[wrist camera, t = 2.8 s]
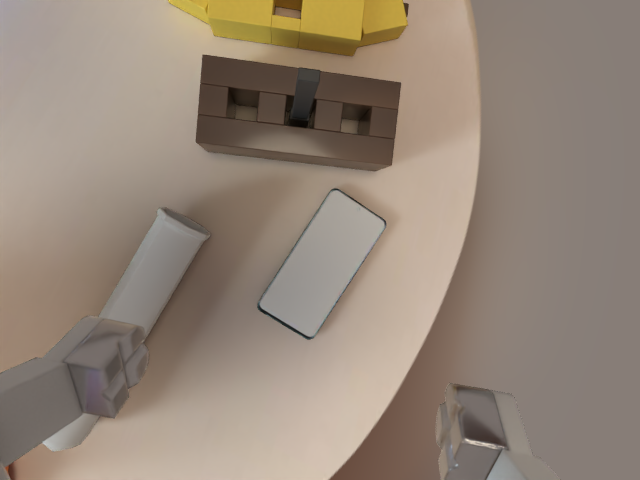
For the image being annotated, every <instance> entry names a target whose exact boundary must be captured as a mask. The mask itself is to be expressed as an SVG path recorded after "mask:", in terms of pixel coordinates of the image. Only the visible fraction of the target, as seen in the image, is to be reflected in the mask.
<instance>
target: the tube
mask: <svg viewBox="0 0 640 480" xmlns="http://www.w3.org/2000/svg"><path fill="white" fill-rule="evenodd" d="M157 214H158V216H157V218H156V220H155V221H154V223H153V225H152V226H151V228H150V230H149V231H148V233H147V235H146V236H145V238H144V240H143V242H142V243H141V245H140V247H139V248H138V250H137V252H136V253H135V255H134V257H133V258H132V260H131V262H130V264H129V265H128V267H127V269H126V270H125V272H124V274H123V275H122V277H121V279H120V280H119V282H118V284H117V286H116V287H115V289H114V291H113V292H112V294H111V296H110V297H109V299H108V301H107V303H106V304H105V306H104V308H103V309H102V311H101V313H100V314H99V316H98V317H100V318H105V319H111V320H116V321H120V322H125V323H130V324H134V325H139V326H142V327H144V330H145V334H146V337H145V339H146V338H147V336H148V334H149V333H150V331H151V329H152V328H153V326H154V324H155V322H156V321H157V319H158V317H159V316H160V314H161V312H162V311H163V309H164V307H165V306H166V304H167V302H168V301H169V299H170V297H171V296H172V294H173V292H174V291H175V289H176V287H177V286H178V284H179V282H180V281H181V279H182V277H183V275H184V274H185V272H186V270H187V269H188V267H189V265H190V264H191V262H192V260H193V259H194V257H195V255H196V254H197V252H198V250H199V249H200V247H201V245H202V244H203V242H204V241H205V240H206V239H208V238H209V237H210V235H211V234H210V233H209V232H208V231H207V230H206V229H205V228H204V227H203V226H201V225H199V224H198V223H196V222H194V221H193V220H191V219H189V218H187V217H186V216H184V215H182V214H179V213H177V212H175V211H173V210H171V209H169V208H167V207H164V208H159V209H158V211H157ZM145 339H144V340H143V341H142V342H143V343H144V341H145ZM99 417H100V416H97V415H92V414H86V413H83V415H82V416H80V417H79V418H78V419H76V420H75V421H73V422H72V423H70V424H69V425H67V426H66V427H64V428H63V429H61V430H60V431H58V432H57V433H55V434H54V435H52V436H51V437H49V438H48V439H47V440H45V441H44V442H42V443H43V444H44V445H45V446H47V447H48V448H49V449H50V450H52V451H53V452H54V451H59V450H64V449H70V448H73V447H75V446H78V445H80V444H81V443H82V442H83V441H84V439H85V438H86V437H87V436H88V434H89V433H90V432H91V430H92V428H93V427H94V425H95V423H96V422H97V420H98V418H99Z"/></svg>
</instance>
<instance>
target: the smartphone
mask: <svg viewBox="0 0 640 480" xmlns="http://www.w3.org/2000/svg"><path fill="white" fill-rule="evenodd" d="M385 228H386V221H385V220H384V219H382V218H381V217H379V216H378V215H377V214H375V213H374V212H372V211H371V210H369V209H368V208H366V207H365V206H363V205H362V204H360V203H359V202H357V201H356V200H354V199H353V198H351V197H350V196H348V195H347V194H345V193H344V192H342V191H341V190H339V189H332V190H331V191H330V193H329V194H328V196H327V197H326V199H325V200H324V202H323V203H322V205H321V206H320V208H319V210H318V211H317V213H316V214H315V216H314V217H313V219H312V220H311V222H310V223H309V225H308V227H307V228H306V230H305V231H304V233H303V234H302V236H301V237H300V239H299V240H298V242H297V244H296V245H295V247H294V248H293V250H292V251H291V253H290V254H289V256H288V257H287V259H286V261H285V262H284V264H283V265H282V267H281V268H280V270H279V271H278V273H277V274H276V276H275V277H274V279H273V281H272V282H271V284H270V285H269V287H268V288H267V290H266V291H265V293H264V294H263V296H262V298H261V299H260V301H259V302H258V309H259V310H260V311H261V312H263V313H264V314H266V315H268V316H269V317H271V318H272V319H274V320H276V321H277V322H279V323H281V324H282V325H284V326H286V327H287V328H289V329H291V330H292V331H294V332H296V333H297V334H299V335H301V336H302V337H304V338H306V339H308V340H310V339H313V338H314V337H315V335H316V334H317V332H318V331H319V329H320V328H321V326H322V325H323V323H324V322H325V320H326V318H327V317H328V315H329V314H330V312H331V311H332V309H333V308H334V306H335V305H336V303H337V302H338V300H339V298H340V297H341V295H342V294H343V292H344V291H345V289H346V288H347V286H348V285H349V283H350V282H351V280H352V278H353V277H354V275H355V274H356V272H357V271H358V269H359V268H360V266H361V265H362V263H363V262H364V260H365V258H366V257H367V255H368V254H369V252H370V251H371V249H372V248H373V246H374V245H375V243H376V242H377V240H378V239H379V237H380V235H381V234H382V232H383V231H384V229H385Z"/></svg>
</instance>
